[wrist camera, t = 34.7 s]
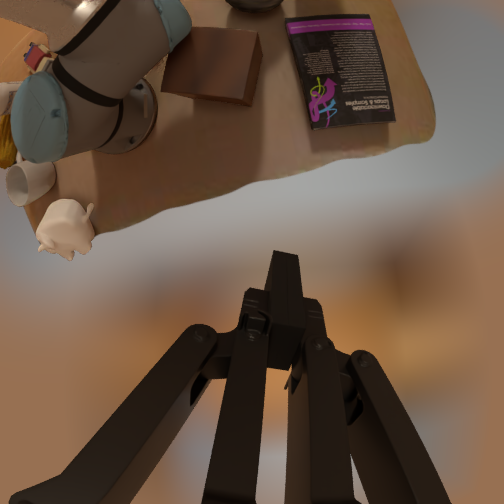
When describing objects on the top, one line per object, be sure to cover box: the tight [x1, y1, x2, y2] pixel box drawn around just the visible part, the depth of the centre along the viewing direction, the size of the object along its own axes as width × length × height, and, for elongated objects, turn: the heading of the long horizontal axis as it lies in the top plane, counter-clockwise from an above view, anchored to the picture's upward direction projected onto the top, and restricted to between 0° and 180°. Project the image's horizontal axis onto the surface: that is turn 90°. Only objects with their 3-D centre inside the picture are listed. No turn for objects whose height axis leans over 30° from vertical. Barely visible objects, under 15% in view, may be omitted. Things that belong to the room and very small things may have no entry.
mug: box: [6, 151, 56, 207], centre depth 41 cm, size 13×9×10 cm
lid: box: [161, 27, 258, 100], centre depth 27 cm, size 11×9×1 cm
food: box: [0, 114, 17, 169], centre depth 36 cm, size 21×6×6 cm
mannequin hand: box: [36, 199, 95, 261], centre depth 47 cm, size 12×18×12 cm
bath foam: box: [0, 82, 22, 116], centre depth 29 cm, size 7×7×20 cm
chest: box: [173, 34, 263, 107], centre depth 32 cm, size 10×9×11 cm
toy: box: [24, 42, 54, 74], centre depth 33 cm, size 6×4×15 cm
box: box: [285, 14, 396, 131], centre depth 34 cm, size 14×4×20 cm
